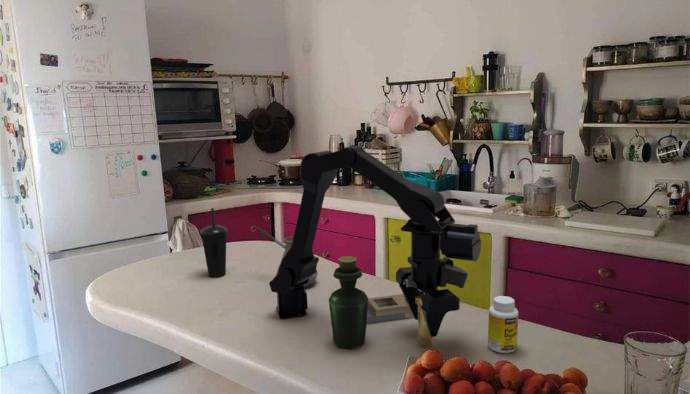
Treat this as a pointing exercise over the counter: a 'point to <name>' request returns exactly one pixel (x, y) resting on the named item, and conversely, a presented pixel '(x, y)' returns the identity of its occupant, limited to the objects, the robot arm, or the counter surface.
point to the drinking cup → (215, 248)
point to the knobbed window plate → (388, 308)
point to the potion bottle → (348, 306)
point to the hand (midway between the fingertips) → (425, 327)
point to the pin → (422, 326)
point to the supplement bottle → (503, 325)
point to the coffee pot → (288, 245)
